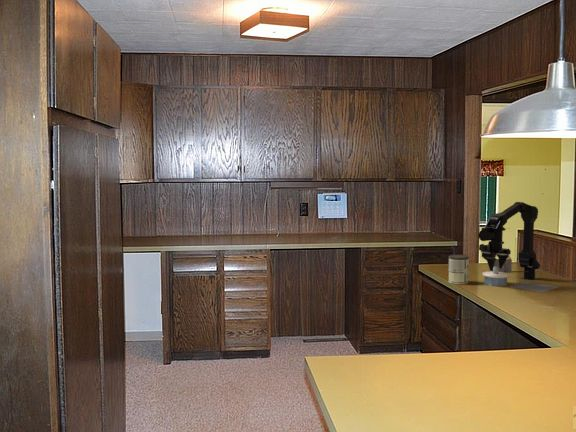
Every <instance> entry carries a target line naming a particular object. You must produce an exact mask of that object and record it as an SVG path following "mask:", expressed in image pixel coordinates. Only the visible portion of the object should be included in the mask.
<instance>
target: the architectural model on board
mask: <svg viewBox="0 0 576 432" xmlns="http://www.w3.org/2000/svg"><path fill="white" fill-rule="evenodd" d="M512 261H513V259H512V257H511V254H510V255H509V256H508V258H507V260H506V261H505V263H504V265H503V267H502V268H499V272H505V273H512V269H513V262H512ZM494 267H499V258H496V261H495V264H494ZM492 271H493V270H492Z"/></svg>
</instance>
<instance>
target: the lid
mask: <svg viewBox="0 0 576 432" xmlns="http://www.w3.org/2000/svg"><path fill="white" fill-rule="evenodd" d="M482 276H483V277H484V278H485V277H490V278H507V279H508V278H510V273H509V272H499V267H493V271H490V270H489V271H483V272H482Z"/></svg>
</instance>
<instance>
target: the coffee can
mask: <svg viewBox="0 0 576 432" xmlns="http://www.w3.org/2000/svg"><path fill="white" fill-rule="evenodd" d="M469 258H470V257H469V255H465V254H449V255H448V283H450V284H453V285H465V284H466V285H467V284H469Z"/></svg>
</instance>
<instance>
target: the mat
mask: <svg viewBox="0 0 576 432" xmlns="http://www.w3.org/2000/svg"><path fill="white" fill-rule="evenodd" d="M508 288H511V289H518V290H525V291H531V292H535V293H536V292H538V293H545V292H550V291H552V290H555V289H558V288H560V286H557V285H556V286H555V285H551V284H550V285H549V284H543V283H538V282H537V283H535V282H530V281H523V282H520V283H517V284H516V283H515V284H513V285H510V286H509V285H508Z"/></svg>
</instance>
